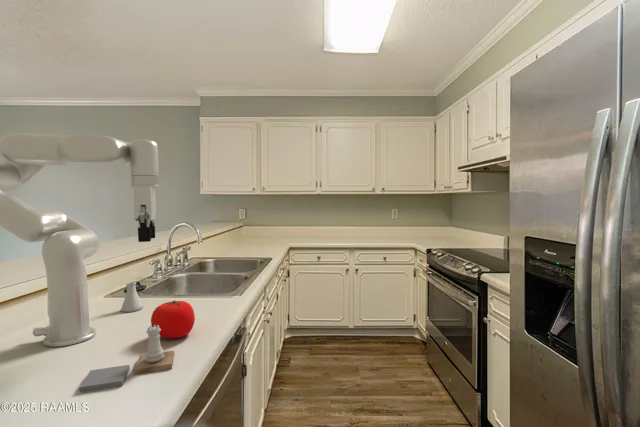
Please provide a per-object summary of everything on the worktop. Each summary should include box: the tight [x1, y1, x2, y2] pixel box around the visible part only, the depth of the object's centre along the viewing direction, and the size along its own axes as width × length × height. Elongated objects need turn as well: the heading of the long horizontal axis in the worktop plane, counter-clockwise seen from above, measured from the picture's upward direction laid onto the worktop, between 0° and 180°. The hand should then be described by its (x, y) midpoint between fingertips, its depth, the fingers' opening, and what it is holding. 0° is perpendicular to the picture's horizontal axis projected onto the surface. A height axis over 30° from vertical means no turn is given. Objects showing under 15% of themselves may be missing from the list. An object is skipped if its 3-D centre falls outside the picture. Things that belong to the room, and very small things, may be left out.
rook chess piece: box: [144, 325, 165, 363], centre depth 87 cm, size 4×4×8 cm
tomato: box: [150, 300, 196, 339], centre depth 105 cm, size 12×12×10 cm
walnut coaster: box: [133, 350, 175, 375], centre depth 87 cm, size 8×8×1 cm
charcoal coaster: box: [78, 364, 131, 394], centre depth 80 cm, size 8×8×1 cm
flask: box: [120, 281, 144, 313], centre depth 132 cm, size 7×7×10 cm
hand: (147, 239), depth 107 cm, fingers open, 9 cm apart
